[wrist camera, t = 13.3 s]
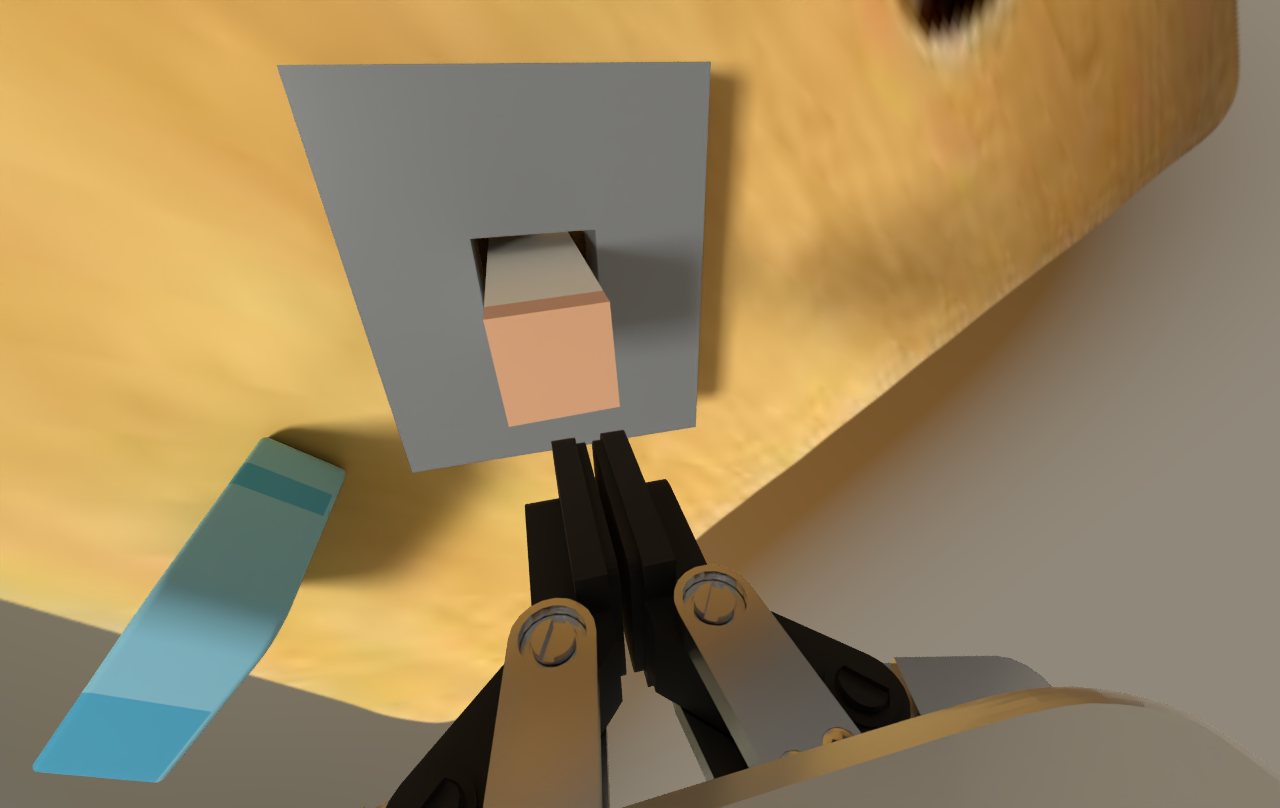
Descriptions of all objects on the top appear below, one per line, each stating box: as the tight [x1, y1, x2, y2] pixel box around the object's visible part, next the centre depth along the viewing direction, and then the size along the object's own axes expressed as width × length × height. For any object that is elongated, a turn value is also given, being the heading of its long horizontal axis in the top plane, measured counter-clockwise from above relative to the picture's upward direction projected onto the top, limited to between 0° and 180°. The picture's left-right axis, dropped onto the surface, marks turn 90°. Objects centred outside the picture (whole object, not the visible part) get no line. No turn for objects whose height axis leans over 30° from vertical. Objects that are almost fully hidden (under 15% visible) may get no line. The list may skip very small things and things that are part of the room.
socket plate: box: [277, 62, 711, 473], centre depth 25 cm, size 18×16×4 cm
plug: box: [483, 232, 620, 427], centre depth 22 cm, size 4×4×12 cm
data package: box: [33, 438, 346, 782], centre depth 25 cm, size 12×4×12 cm, turn 137°
